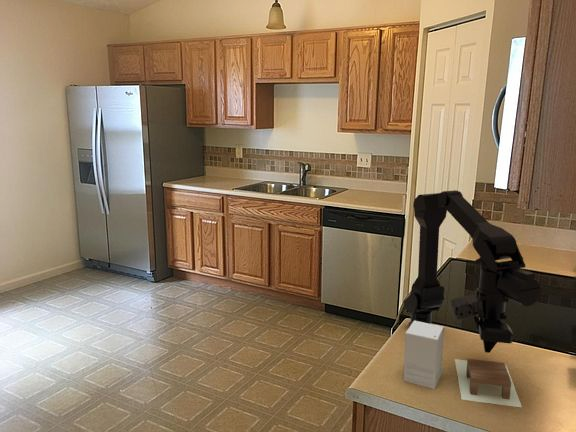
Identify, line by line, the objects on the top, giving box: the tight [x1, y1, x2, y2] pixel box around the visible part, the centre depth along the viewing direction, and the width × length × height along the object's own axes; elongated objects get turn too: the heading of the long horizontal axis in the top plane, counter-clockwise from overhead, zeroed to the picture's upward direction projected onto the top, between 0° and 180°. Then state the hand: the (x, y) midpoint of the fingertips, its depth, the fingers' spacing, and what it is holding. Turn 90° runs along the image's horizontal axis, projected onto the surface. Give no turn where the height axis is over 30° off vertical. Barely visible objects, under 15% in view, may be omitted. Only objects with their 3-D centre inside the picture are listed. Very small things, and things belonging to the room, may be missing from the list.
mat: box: [454, 358, 522, 408], centre depth 108 cm, size 17×12×1 cm
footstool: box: [466, 358, 511, 399], centre depth 105 cm, size 4×8×8 cm
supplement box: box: [403, 320, 445, 390], centre depth 108 cm, size 7×7×13 cm
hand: (487, 351), depth 107 cm, fingers closed
